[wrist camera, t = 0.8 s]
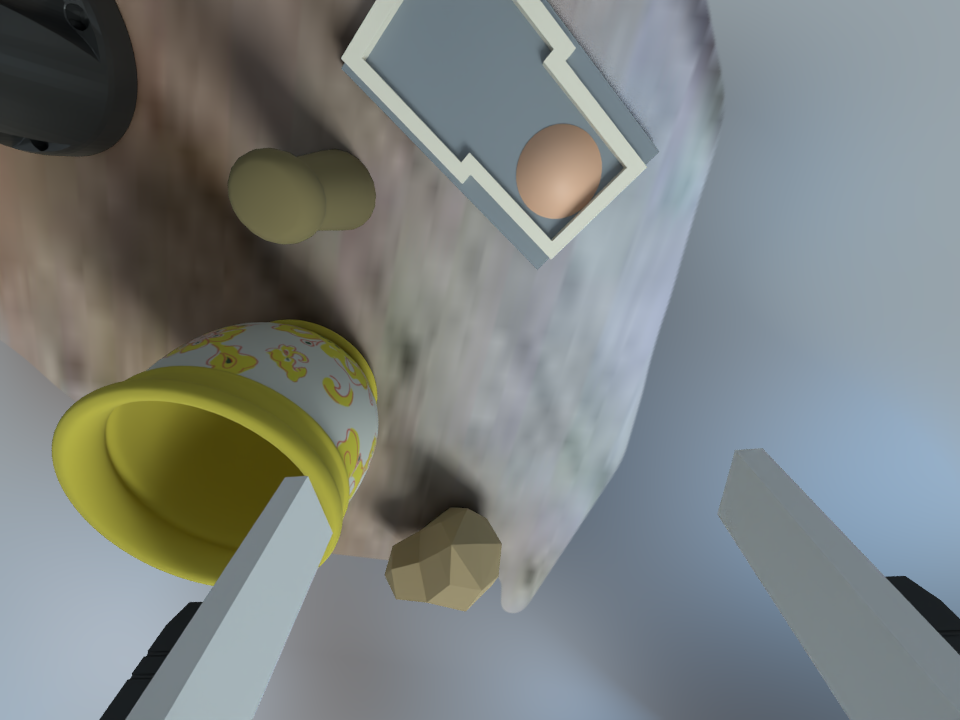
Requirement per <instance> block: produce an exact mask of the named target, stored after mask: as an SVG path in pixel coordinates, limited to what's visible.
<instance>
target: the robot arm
mask: <svg viewBox="0 0 960 720" xmlns="http://www.w3.org/2000/svg"><path fill="white" fill-rule="evenodd" d="M136 99H137V73H136V65H135V59H134V54H133V50H132V46H131V42H130V39H129V35H128V33H127V30H126V27H125V24H124V22H123V19H122V17H121V14H120V12H119V10H118V8H117V6H116V4H115V2H114V0H0V144H3V145H6V146H9V147H12V148H15V149H18V150H22V151H26V152H30V153H35V154H42V155H55V156H89V155H94V154H97V153H100V152H103V151H105V150H107V149H108V148H110V147H111V146H113V145H114V144H115V143H116V142H117V141H118V140H119V139H120V138H121V137H122V136H123V135H124V133H125V132H126V130H127V128H128V127H129V124H130V122H131V120H132V117H133V114H134V110H135V105H136ZM718 516H719V517H720V519H721V520H722V522H723V524H724V525H725V527H726V528H727V530H728V531H729V533H730V535H731V536H732V537H733V539H734V541H735V542H736V544H737V546H738V547H739V549H740V550H741V552H742V553H743V555H744V556H745V558H746V559H747V561H748V562H749V564H750V566H751V567H752V569H753V570H754V572H755V573H756V575H757V576H758V578H759V580H760V581H761V583H762V584H763V586H764V587H765V589H766V590H767V592H768V594H769V595H770V597H771V598H772V600H773V601H774V603H775V604H776V606H777V607H778V609H779V611H780V612H781V614H782V615H783V617H784V618H785V619H786V621H787V623H788V625H789V626H790V627H791V629H792V631H793V632H794V634H795V635H796V637H797V638H798V640H799V642H800V643H801V645H802V646H803V648H804V649H805V651H806V652H807V654H808V656H809V657H810V659H811V660H812V662H813V663H814V665H815V666H816V668H817V669H818V671H819V673H820V674H821V676H822V677H823V679H824V680H825V682H826V683H827V685H828V686H829V688H830V690H831V691H832V693H833V694H834V696H835V697H836V699H837V700H838V702H839V704H840V705H841V706H842V708H843V710H844V711H845V713H846V714H847V716H848V717H849V719H850V720H960V619H959V618H958V617H957V616H956V615H955V614H954V613H953V612H952V611H951V610H950V609H949V608H948V607H947V606H946V605H945V604H944V603H943V602H942V601H941V600H940V599H938V598H937V597H935V596H934V595H932V594H931V593H929V592H928V591H926V590H925V589H923V588H922V587H920V586H919V585H918V584H916V583H915V582H913V581H912V580H910V579H909V578H907V577H906V576H896V577H895V576H892V577H885V576H884V575H883V574H882V573H881V572H880V571H879V570H878V569H877V568H876V567H875V566H874V565H873V564H872V563H871V562H870V561H869V560H868V558H867V557H866V556H865V555H864V554H863V553H862V552H861V551H860V550H859V549H858V548H857V547H856V546H855V545H854V544H853V543H852V542H851V541H850V540H849V539H848V538H847V536H846V535H845V534H844V533H843V532H842V531H841V530H840V529H839V528H838V527H837V526H836V525H835V524H834V523H833V522H832V521H831V520H830V519H829V518H828V517H827V516H826V515H825V514H824V512H823V511H822V510H821V509H820V508H819V507H818V506H817V505H816V504H815V503H814V502H813V501H812V500H811V499H810V498H809V497H808V496H807V495H806V494H805V492H804V491H803V490H802V489H801V488H800V487H799V486H798V485H797V484H796V483H795V482H794V481H793V480H792V479H791V478H790V477H789V476H788V475H787V474H786V473H785V471H784V470H783V469H782V468H780V466H779V465H778V464H777V463H776V462H775V461H774V460H773V459H772V458H771V457H770V456H769V455H768V454H767V453H766V452H765V451H764V449H746V450H735V453H734V456H733V460H732V464H731V467H730V471H729V475H728V478H727V482H726V485H725V489H724V492H723V497H722V500H721V503H720V507H719V511H718ZM332 534H333V532H332V530H331V528H330V525H329V523H328V521H327V518H326V516H325V514H324V512H323V509H322V507H321V505H320V502H319V500H318V498H317V496H316V493H315V491H314V489H313V486H312V484H311V482H310V480H309V477H308V476H298V477H285V478H284V480H283V481H282V483H281V484H280V486H279V487H278V489H277V490H276V492H275V493H274V495H273V496H272V498H271V499H270V501H269V503H268V504H267V506H266V507H265V509H264V510H263V512H262V513H261V515H260V516H259V518H258V519H257V521H256V522H255V524H254V525H253V527H252V528H251V530H250V531H249V533H248V534H247V536H246V537H245V539H244V540H243V542H242V543H241V545H240V547H239V548H238V550H237V551H236V553H235V554H234V556H233V557H232V559H231V560H230V562H229V563H228V565H227V566H226V568H225V569H224V571H223V572H222V574H221V575H220V577H219V578H218V580H217V581H216V583H215V584H214V586H213V588H212V589H211V591H210V592H209V594H208V595H207V597H206V598H205V600H204V601H203V602H190V603H188V604H187V605H186V606H185V607H184V608H183V609H182V610H181V611H180V612H179V613H178V614H177V615H176V616H175V617H174V618H173V619H172V620H171V621H170V622H169V623H168V624H167V625H166V626H165V628H164V629H163V631H162V632H161V633H160V635H159V636H158V637H157V639H156V640H155V642H154V643H153V645H152V646H151V648H150V649H149V650H148V654H147V656H146V657H143V659H142V660H141V662H140V663H139V665H138V666H137V667H136V669H135V670H134V671H133V673H132V677H131V678H130V679H129V680H127V682H126V683H125V684H124V686H123V687H122V688H121V690H120V691H119V693H118V694H117V696H116V697H115V698H114V700H113V701H112V703H111V704H110V705H109V707H108V708H107V710H106V711H105V713H104V714H103V716H102V717H101V718H100V720H253V717H254V715H255V713H256V710H257V708H258V706H259V703H260V701H261V699H262V696H263V694H264V692H265V689H266V687H267V685H268V683H269V680H270V678H271V676H272V673H273V671H274V668H275V666H276V664H277V662H278V659H279V657H280V655H281V652H282V650H283V648H284V645H285V643H286V641H287V638H288V636H289V634H290V631H291V629H292V627H293V624H294V622H295V620H296V617H297V615H298V613H299V610H300V608H301V606H302V603H303V601H304V599H305V596H306V594H307V592H308V590H309V587H310V585H311V582H312V580H313V578H314V576H315V573H316V571H317V569H318V566H319V564H320V562H321V559H322V557H323V555H324V552H325V550H326V548H327V545H328V543H329V541H330V538H331V536H332Z"/></svg>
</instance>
